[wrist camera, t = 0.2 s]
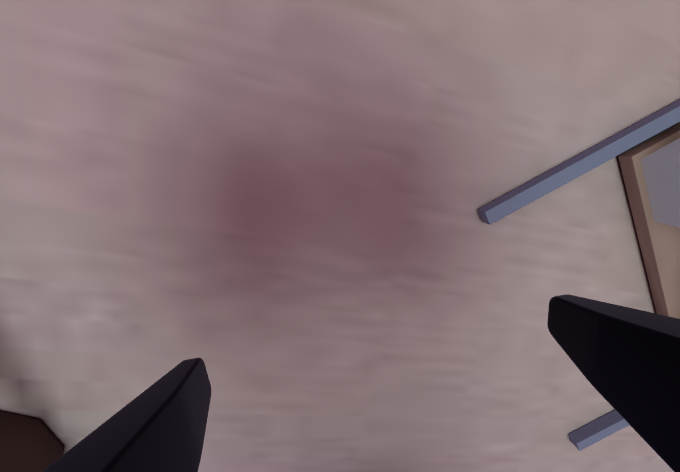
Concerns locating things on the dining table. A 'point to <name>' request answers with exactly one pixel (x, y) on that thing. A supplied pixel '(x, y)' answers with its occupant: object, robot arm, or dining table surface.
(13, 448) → the beer bottle
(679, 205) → the light blue-gray cube
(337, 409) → the dining table surface
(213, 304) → the dining table surface
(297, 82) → the dining table surface
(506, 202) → the lane rails
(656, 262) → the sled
